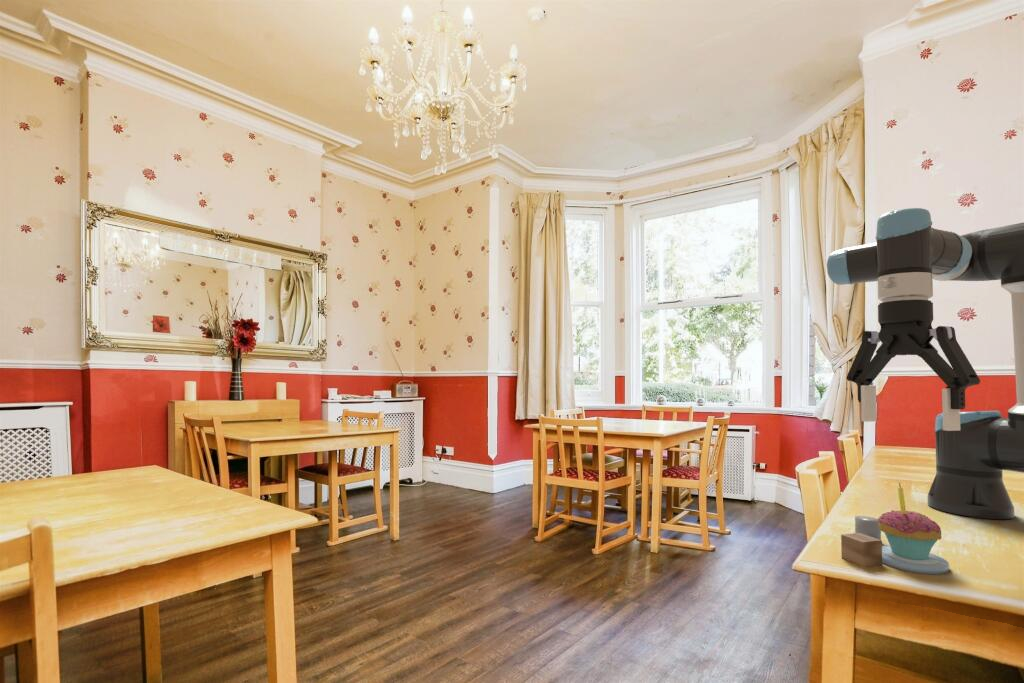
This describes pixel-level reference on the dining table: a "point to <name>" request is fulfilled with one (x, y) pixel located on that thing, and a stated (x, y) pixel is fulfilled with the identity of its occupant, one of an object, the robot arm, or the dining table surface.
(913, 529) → the cupcake
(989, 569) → the dining table surface
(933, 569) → the saucer
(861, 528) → the grey cylinder
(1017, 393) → the robot arm
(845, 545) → the walnut block
